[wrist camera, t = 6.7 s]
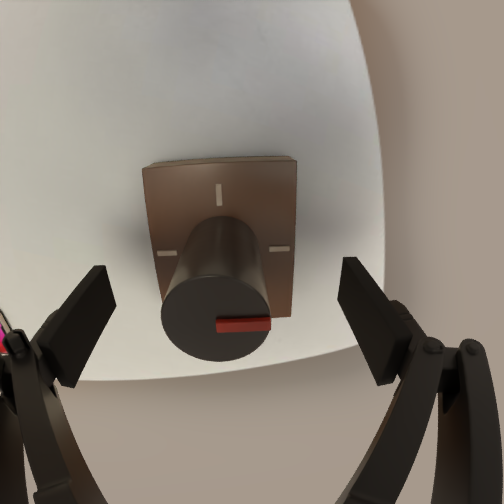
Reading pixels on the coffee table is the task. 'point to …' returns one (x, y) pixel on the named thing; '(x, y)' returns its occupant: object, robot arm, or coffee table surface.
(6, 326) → the smartphone
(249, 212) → the dial panel
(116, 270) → the coffee table surface
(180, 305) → the dial knob
